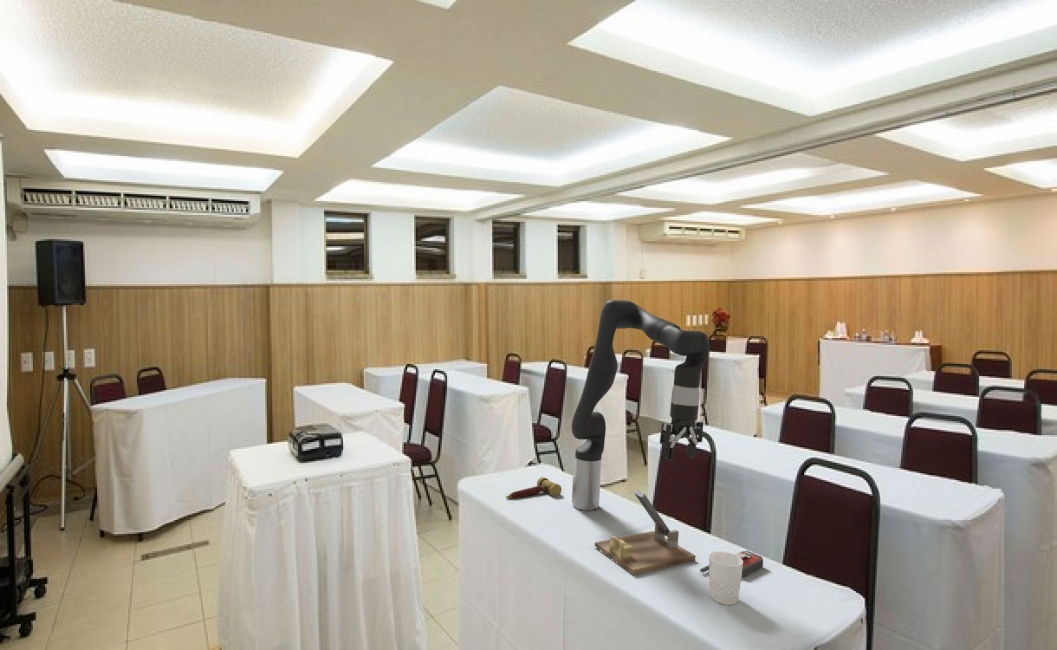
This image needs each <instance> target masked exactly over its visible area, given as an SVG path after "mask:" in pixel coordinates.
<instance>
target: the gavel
mask: <svg viewBox="0 0 1057 650" xmlns="http://www.w3.org/2000/svg"><path fill="white" fill-rule="evenodd" d="M562 491H563V490H562V486H561V484H558V483H557V482H553V481H551V480H549V478H546V477H544V476H541V477H539V478H538V479H537V482H536V486H532V487H528V488H524V489H521V490H520V489H519V490H517V491H513V492H511V493H509V494H508V495H505V498H506V499H507V500H508V499H509V500H513V499H514V500H515V499H520V498H524V497H529V496H533V495H536V494H540V493H542V492H547V493H548V494H549V495H551V496H552V497H557V496H556V495H558V496H560V495H561V494H562Z"/></svg>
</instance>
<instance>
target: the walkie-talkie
mask: <svg viewBox="0 0 1057 650" xmlns="http://www.w3.org/2000/svg"><path fill="white" fill-rule="evenodd" d="M734 555H736V556H738V557H740V558H741V559H742V560H743V567H742V577H741V579H743V578H745V577H747V575H748V576H750V575H752V574H753V573H755V571H756V572H757V570H758V571H759V569H760V568H762V567H764V558H763V557H762V556H761V555H759V554H756V553H753V552H751V551H749V550H742V551H740V552H738V553H736V554H734ZM762 569H763V568H762ZM760 570H761V569H760ZM699 571H700V573H702V574H703V573H704V572H705V573H706V572H707V571H709V564H708V565H706V566H704V567H702V568H699ZM752 572H753V573H752ZM749 574H750V575H749Z"/></svg>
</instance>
